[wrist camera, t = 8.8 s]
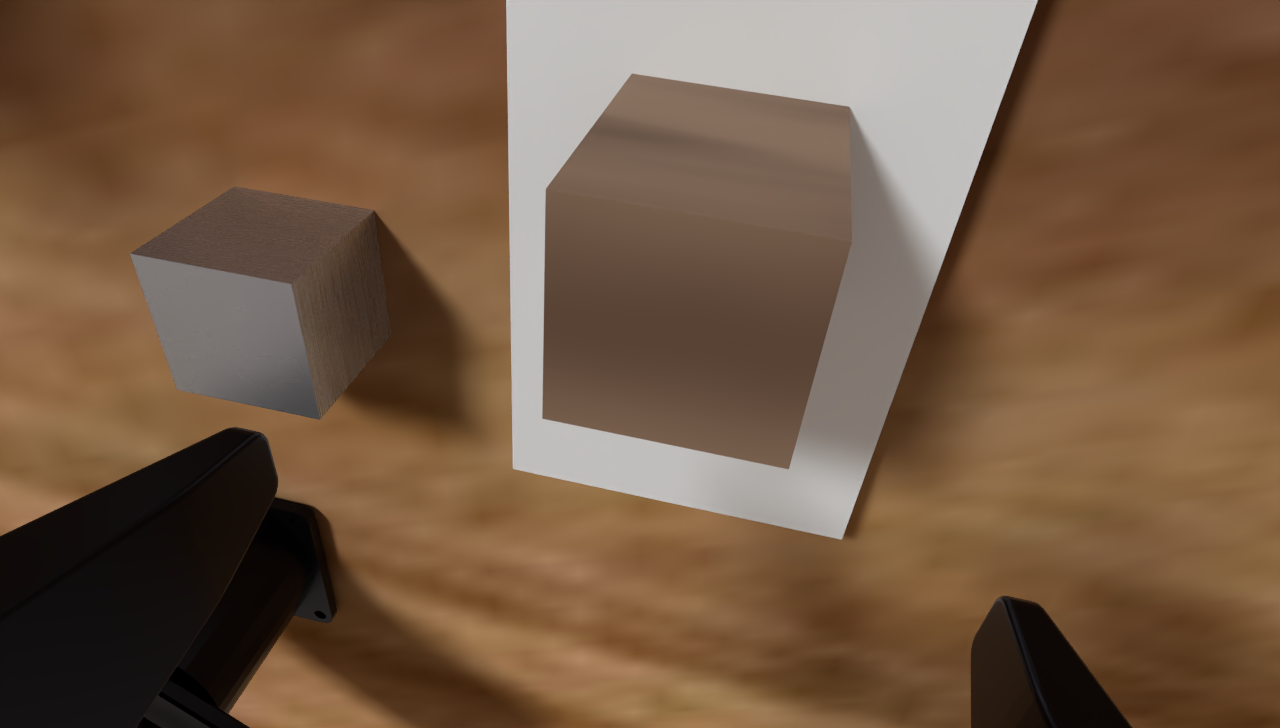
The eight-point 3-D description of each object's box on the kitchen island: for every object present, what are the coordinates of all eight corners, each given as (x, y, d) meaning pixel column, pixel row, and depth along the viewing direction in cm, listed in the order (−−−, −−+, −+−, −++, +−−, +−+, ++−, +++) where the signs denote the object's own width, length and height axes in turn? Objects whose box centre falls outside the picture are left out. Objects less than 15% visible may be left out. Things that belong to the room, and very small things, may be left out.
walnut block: (802, 295, 19) (788, 469, 14) (616, 262, 19) (542, 418, 14) (849, 106, 16) (851, 241, 11) (631, 74, 16) (545, 189, 12)
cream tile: (841, 519, 24) (841, 539, 23) (521, 451, 25) (512, 469, 24) (1168, -402, 12) (1188, -413, 11) (517, -454, 13) (499, -465, 12)
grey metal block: (392, 333, 23) (320, 419, 20) (267, 309, 24) (177, 389, 20) (375, 208, 21) (291, 284, 18) (236, 184, 21) (129, 253, 18)
